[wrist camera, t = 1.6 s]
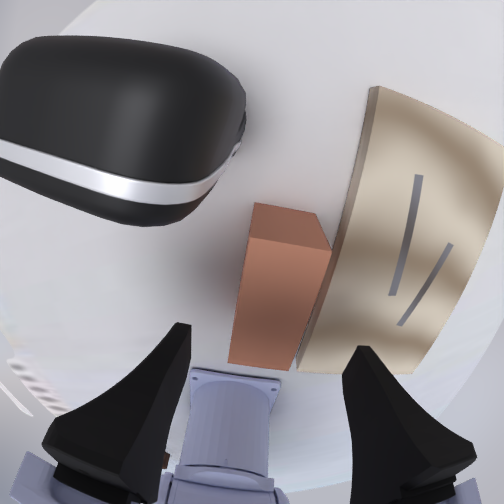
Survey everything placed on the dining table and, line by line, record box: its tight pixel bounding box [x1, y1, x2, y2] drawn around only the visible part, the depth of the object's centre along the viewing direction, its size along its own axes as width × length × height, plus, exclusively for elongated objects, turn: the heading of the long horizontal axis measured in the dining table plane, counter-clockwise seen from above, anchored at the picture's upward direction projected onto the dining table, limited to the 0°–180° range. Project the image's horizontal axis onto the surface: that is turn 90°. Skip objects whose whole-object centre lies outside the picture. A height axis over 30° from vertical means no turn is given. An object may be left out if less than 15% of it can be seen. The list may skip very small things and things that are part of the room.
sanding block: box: [228, 203, 332, 371], centre depth 16 cm, size 8×4×5 cm, turn 170°
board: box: [296, 86, 504, 374], centre depth 17 cm, size 20×11×2 cm, turn 172°
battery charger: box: [0, 36, 246, 227], centre depth 9 cm, size 7×4×11 cm, turn 69°
